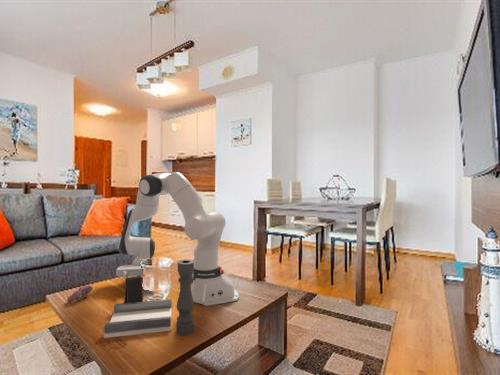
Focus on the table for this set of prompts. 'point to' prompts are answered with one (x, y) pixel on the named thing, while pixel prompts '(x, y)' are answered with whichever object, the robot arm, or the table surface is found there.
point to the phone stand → (133, 290)
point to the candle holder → (185, 299)
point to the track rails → (140, 323)
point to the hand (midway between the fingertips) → (136, 275)
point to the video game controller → (80, 293)
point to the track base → (136, 316)
